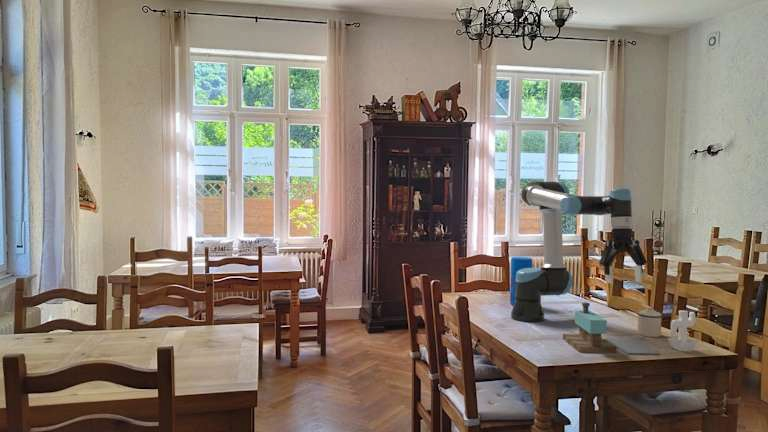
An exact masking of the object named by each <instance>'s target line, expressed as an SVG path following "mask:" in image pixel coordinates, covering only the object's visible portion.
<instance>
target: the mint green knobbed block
mask: <svg viewBox="0 0 768 432" xmlns="http://www.w3.org/2000/svg"><path fill="white" fill-rule="evenodd" d="M607 321H608V320H607V319H605V318H603V317H602V316H600V315H598V314H597V313H595V312H593V311H591V310H588V314H583V310H575V311H574V324H576V325H577V326H578V327H579V326H580V327H581V328H583V329H584V330H586V331H587V332H589V333H590V334H601V335H604V334H607V331H608V330H607V325H608V324H607V323H608V322H607Z"/></svg>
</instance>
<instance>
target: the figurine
mask: <svg viewBox="0 0 768 432" xmlns="http://www.w3.org/2000/svg"><path fill="white" fill-rule="evenodd" d="M688 315H689V316H688ZM695 323H696V313H695V312H694V311H689V313H688V310H678V319H672V320H671V322H670V334H671V335H677V330H678V335H677V337H667V340H668V343H669V344H670V346H671V348H672V349H673V348H674V350H675V351H678V350H679V352H681V351H684V352H692V351H693V349H694V348H695V347H696V346H697V344H698V342H697V341H696V340H692V339H689V338H687V337H688V336H687V331H688V327H689V328H690V327H694V326H695Z"/></svg>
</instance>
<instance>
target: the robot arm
mask: <svg viewBox="0 0 768 432" xmlns="http://www.w3.org/2000/svg"><path fill="white" fill-rule="evenodd" d="M520 192H521V193H520V194H521V195H520V196H521V200H522V201H523V202H524V203H525V204H526V205H529V206H535V207H537V206H538V207H539V211H540V212H541V213H542V224H543V225H542V227H543V228H542V229H543V231H542V232H543V259H544V260H543V261H544V263H543V264H542V265H541V268H539V267H532V268H524V269H520V270H518V271H517V273H516V279H515V281H516V289H515V303H514V306H512V309H511V312H510V318H511V319H512V320H515V321H521V322H528V323H529V322H530V323H537V322H542V321H544V320H545V313H544V309H543V306H542V296H545V297H546V296H561V295H566V294H567V293H569V292H570V291H571V289H572V287H573V276H572V273H571V272H570V271H569V270H568V269H567V268H568V267H567V265H566V264H564V252H563V251H564V250H563V249H564V248H563V220H562V219H563V218H562V217H563V214H565V215H569V216H575V215H593V216H604V215H605V216H606V215H610V225H611V226H610V227H611V229H610V230H611V238H612V240H605V243H604V245H605V247H604V249H603V251H602V254H601V257H600V259H599V262H598V264H599V265H601V266H602V267H604V268H603V271H604V275H605V283H606V284H614V282H613V266H612V263H613V261H614V260H615V259H616V257H617V255H618V254H619V253H626V254H628V255H629V256H630V258H631V260H632V261H633V262H634V264H635V265H634V281H635V283H642V282H643V280H642V279H643V277H642V274H643V270H644V269H643V266H645V264H647V263H648V262H647V259H646V257H645V255H644V253H643V250H642V248H641V246H640V241H639V240H637V239H636V240H632V239H633V237H634V235H633V228H632V227H633V217H632V216H633V214H632V210H633V209H632V193H631V190H630V189H629V188H627V187H625V188H612V189H610V191H609V195H605V196H604V195H601V196H599V195H598V196H595V195H593V196H591V195H587V196H586V195H576V194H575V195H574V194H570V189H569V188H568V186H567V185H566V184H565V183H563V182H561V181H559V182H558V181H539V180H538V181H536V180H535V181H531V182H528V183H526V184H525V185H524V186H523V188H522V189H521V191H520ZM562 213H563V214H562Z"/></svg>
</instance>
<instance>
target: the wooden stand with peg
mask: <svg viewBox="0 0 768 432" xmlns="http://www.w3.org/2000/svg"><path fill="white" fill-rule="evenodd" d="M590 304H591V303H590V302H585V301H583V302H582V303H581V306H582V313H583V314H588V311H589V307H590ZM578 327H579V331H578V333H563V334H562V339H563V340H564V341H565V342H566V343H567V344H568V345H569V346H571V347H572V348H573V349H575V350H576V351H577V352H578V353H617V351H618V348H617V347H616V346H614V345H613V344H611V343H610V342H608V341H607V340H605V338H603V337H602V334H590V333H589V332H587V331H586V330H584V329H583V328H581V327H580V326H579V325H578Z"/></svg>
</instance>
